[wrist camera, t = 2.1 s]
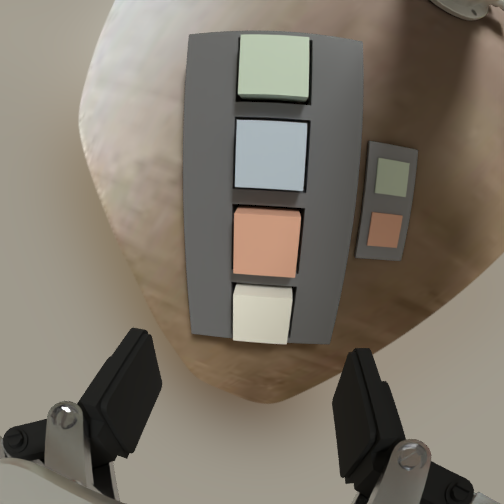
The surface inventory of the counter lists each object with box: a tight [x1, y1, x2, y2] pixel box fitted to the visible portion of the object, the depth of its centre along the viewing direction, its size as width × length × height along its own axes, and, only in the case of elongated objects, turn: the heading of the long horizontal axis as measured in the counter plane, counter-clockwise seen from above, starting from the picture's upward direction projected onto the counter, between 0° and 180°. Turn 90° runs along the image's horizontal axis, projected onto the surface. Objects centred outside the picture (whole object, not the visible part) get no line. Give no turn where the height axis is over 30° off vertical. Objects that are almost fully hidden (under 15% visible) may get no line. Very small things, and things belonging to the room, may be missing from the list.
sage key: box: [238, 34, 309, 102], centre depth 18 cm, size 5×5×3 cm
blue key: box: [235, 120, 307, 191], centre depth 21 cm, size 5×5×3 cm
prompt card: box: [354, 141, 418, 261], centre depth 24 cm, size 5×11×1 cm, turn 178°
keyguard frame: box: [183, 31, 363, 344], centre depth 24 cm, size 14×28×3 cm, turn 178°
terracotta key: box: [233, 206, 301, 278], centre depth 23 cm, size 5×5×3 cm
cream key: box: [233, 282, 293, 344], centre depth 26 cm, size 5×5×3 cm
